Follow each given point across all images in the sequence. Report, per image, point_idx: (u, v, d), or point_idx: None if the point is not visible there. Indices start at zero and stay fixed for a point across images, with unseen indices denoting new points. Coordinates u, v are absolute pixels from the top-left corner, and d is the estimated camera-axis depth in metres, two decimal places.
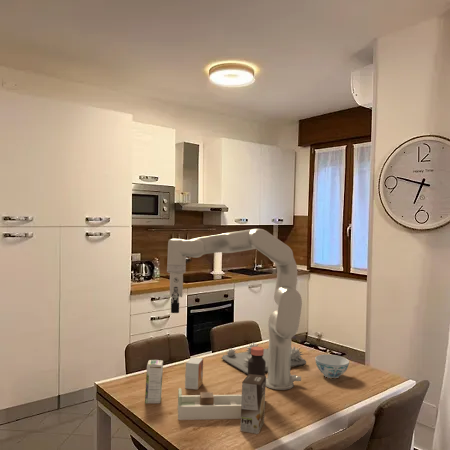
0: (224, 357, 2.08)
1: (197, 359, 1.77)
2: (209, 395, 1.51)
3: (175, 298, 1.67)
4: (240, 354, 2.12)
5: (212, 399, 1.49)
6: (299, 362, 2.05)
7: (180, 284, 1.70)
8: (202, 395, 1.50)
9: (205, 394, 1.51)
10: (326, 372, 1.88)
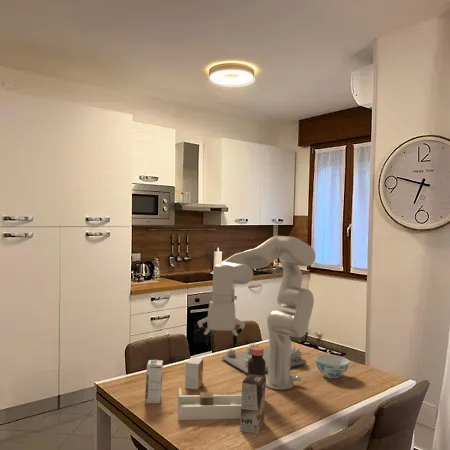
0: (224, 357, 2.08)
1: (197, 359, 1.77)
2: (209, 395, 1.51)
3: (242, 329, 1.54)
4: (240, 354, 2.12)
5: (212, 399, 1.49)
6: (299, 362, 2.05)
7: None
8: (202, 395, 1.50)
9: (205, 394, 1.51)
10: (326, 372, 1.88)
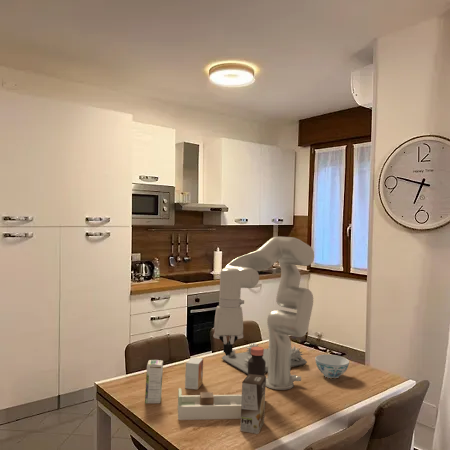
0: (224, 357, 2.08)
1: (197, 359, 1.77)
2: (209, 395, 1.51)
3: None
4: (240, 354, 2.12)
5: (212, 399, 1.49)
6: (299, 362, 2.05)
7: None
8: (202, 395, 1.50)
9: (205, 394, 1.51)
10: (326, 372, 1.88)
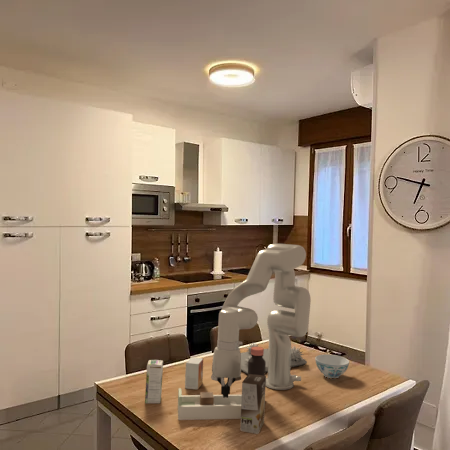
0: None
1: (197, 359, 1.77)
2: (209, 395, 1.51)
3: None
4: None
5: (212, 399, 1.49)
6: (299, 362, 2.05)
7: None
8: (202, 395, 1.50)
9: (205, 394, 1.51)
10: (326, 372, 1.88)
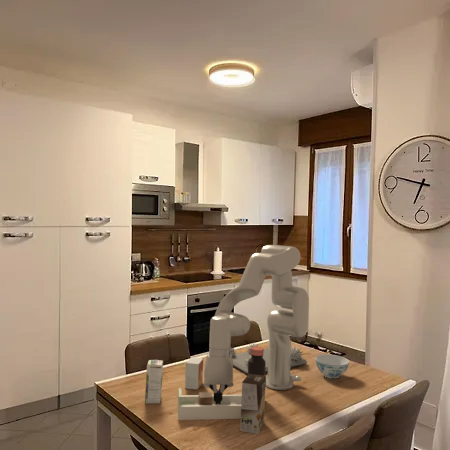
0: None
1: (197, 359, 1.77)
2: (208, 395, 1.51)
3: None
4: (240, 354, 2.12)
5: (211, 399, 1.49)
6: (300, 362, 2.05)
7: None
8: (201, 395, 1.50)
9: (203, 394, 1.51)
10: (326, 372, 1.88)
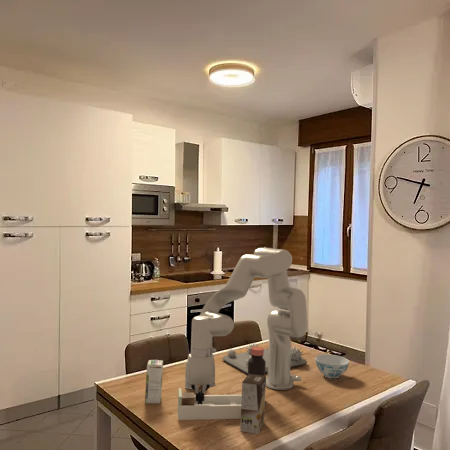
0: (225, 358, 2.07)
1: None
2: (190, 395, 1.50)
3: None
4: (240, 354, 2.11)
5: (193, 399, 1.48)
6: (300, 362, 2.05)
7: None
8: (183, 395, 1.50)
9: (186, 394, 1.50)
10: (326, 372, 1.88)
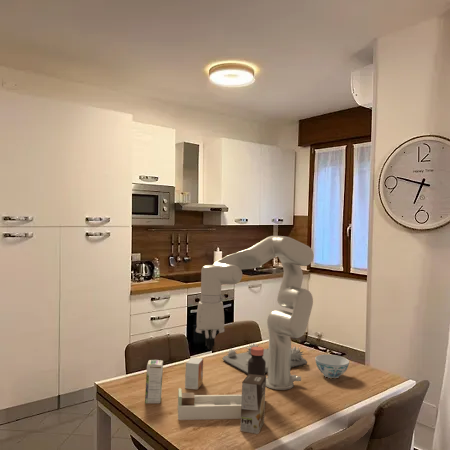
0: (225, 358, 2.07)
1: (197, 359, 1.77)
2: (190, 395, 1.50)
3: None
4: (241, 355, 2.11)
5: (193, 399, 1.48)
6: (300, 362, 2.05)
7: None
8: (183, 395, 1.50)
9: (186, 394, 1.50)
10: (326, 372, 1.88)
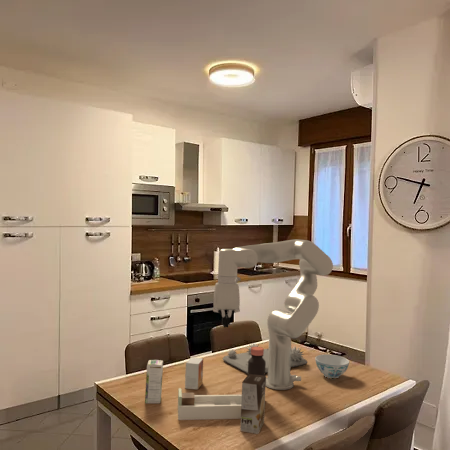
0: (225, 358, 2.07)
1: (197, 359, 1.77)
2: (190, 395, 1.50)
3: None
4: (241, 355, 2.11)
5: (193, 399, 1.48)
6: (300, 362, 2.05)
7: None
8: (183, 395, 1.50)
9: (186, 394, 1.50)
10: (326, 372, 1.88)
